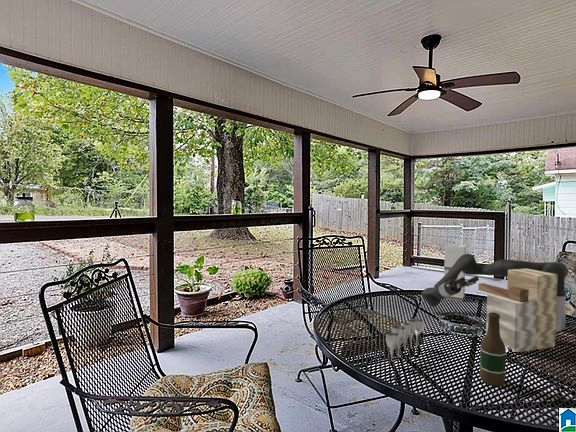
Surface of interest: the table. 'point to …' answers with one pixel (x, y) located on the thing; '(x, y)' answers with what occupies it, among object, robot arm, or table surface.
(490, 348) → the beer bottle
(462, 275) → the white tall block
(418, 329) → the goblet set
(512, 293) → the wooden mallet
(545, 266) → the robot arm
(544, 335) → the step shelf
